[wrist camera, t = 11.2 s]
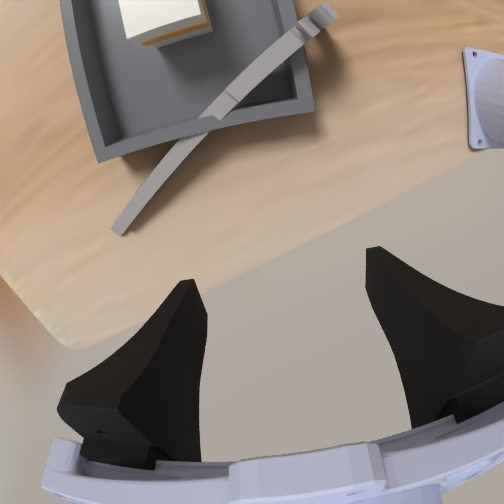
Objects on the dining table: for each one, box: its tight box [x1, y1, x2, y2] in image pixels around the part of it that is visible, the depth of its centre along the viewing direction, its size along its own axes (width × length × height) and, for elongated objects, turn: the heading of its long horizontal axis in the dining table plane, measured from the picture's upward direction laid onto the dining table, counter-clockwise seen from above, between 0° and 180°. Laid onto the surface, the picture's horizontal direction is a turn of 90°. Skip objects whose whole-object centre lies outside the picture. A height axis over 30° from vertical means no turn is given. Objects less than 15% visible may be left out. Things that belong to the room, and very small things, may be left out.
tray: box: [60, 0, 315, 164], centre depth 12 cm, size 13×17×3 cm
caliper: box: [111, 2, 340, 237], centre depth 15 cm, size 20×1×6 cm, turn 136°
